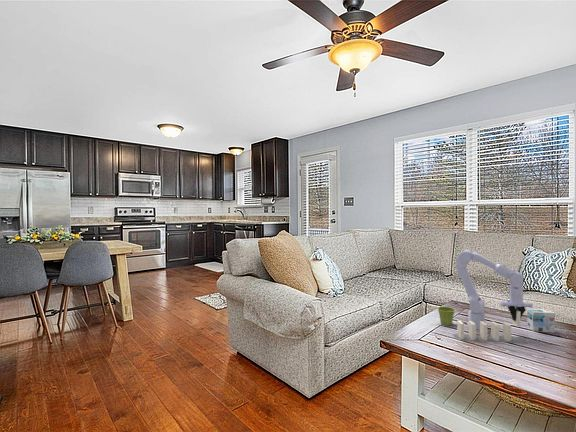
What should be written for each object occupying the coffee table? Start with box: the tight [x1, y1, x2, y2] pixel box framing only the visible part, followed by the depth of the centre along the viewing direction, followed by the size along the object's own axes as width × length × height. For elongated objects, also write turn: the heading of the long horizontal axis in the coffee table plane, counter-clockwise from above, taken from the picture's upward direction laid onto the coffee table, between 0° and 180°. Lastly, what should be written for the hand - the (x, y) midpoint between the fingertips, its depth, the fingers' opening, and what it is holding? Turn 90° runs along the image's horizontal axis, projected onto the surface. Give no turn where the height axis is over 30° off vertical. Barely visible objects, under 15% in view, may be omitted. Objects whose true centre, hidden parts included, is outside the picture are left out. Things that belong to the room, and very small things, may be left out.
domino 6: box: [511, 310, 522, 327], centre depth 169 cm, size 2×5×8 cm, turn 170°
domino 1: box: [456, 320, 465, 339], centre depth 167 cm, size 2×5×8 cm, turn 170°
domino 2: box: [467, 320, 477, 340], centre depth 166 cm, size 2×5×8 cm, turn 170°
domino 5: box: [502, 321, 512, 341], centre depth 163 cm, size 2×5×8 cm, turn 170°
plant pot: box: [436, 306, 456, 326], centre depth 188 cm, size 9×9×9 cm
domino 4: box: [490, 321, 500, 341], centre depth 164 cm, size 2×5×8 cm, turn 170°
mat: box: [451, 333, 531, 344], centre depth 165 cm, size 8×34×1 cm, turn 80°
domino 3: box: [479, 321, 488, 340], centre depth 165 cm, size 2×5×8 cm, turn 170°
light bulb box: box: [526, 307, 556, 333], centre depth 175 cm, size 11×7×11 cm, turn 76°
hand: (516, 320), depth 169 cm, fingers closed on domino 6, 1 cm apart
